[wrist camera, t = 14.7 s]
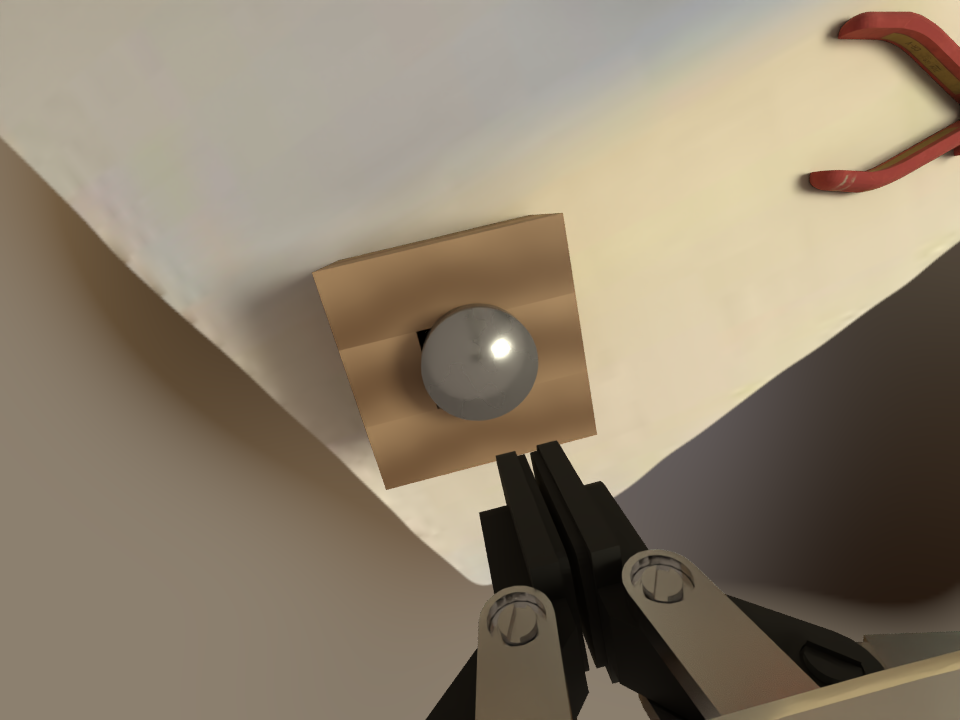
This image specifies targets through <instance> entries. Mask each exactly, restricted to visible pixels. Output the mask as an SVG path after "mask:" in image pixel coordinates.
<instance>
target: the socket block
mask: <svg viewBox="0 0 960 720" xmlns="http://www.w3.org/2000/svg"><path fill="white" fill-rule="evenodd" d="M312 274H313V277H314V280H315V283H316V286H317V289H318V292H319V295H320V298H321V301H322V304H323V306H324V309H325V312H326V315H327V318H328V321H329V324H330V327H331V330H332V333H333V336H334V339H335V342H336V344H337V347H338V350H339V353H340V356H341V359H342V362H343V365H344V368H345V371H346V374H347V377H348V380H349V382H350V385H351V388H352V391H353V394H354V397H355V400H356V403H357V406H358V409H359V412H360V415H361V418H362V420H363V423H364V426H365V429H366V432H367V435H368V438H369V441H370V444H371V447H372V450H373V453H374V456H375V458H376V461H377V464H378V467H379V470H380V473H381V476H382V479H383V482H384V485H385V488H386V490H387V489H391V488H395V487H399V486H403V485H407V484H410V483H414V482H418V481H422V480H426V479H429V478H433V477H437V476H441V475H445V474H448V473H452V472H456V471H460V470H464V469H468V468H471V467H475V466H479V465H483V464H487V463H490V462H494V461H496V455H500V454H504V453H508V452H512V451H516V454H517V455H521V454H525V453H528V452H532V451H536V450H537V447H536V446H537V445H539V444H543V443H547V442H551V441H555V440H557V441H558V443H559V444H563V443H567V442H570V441H574V440H578V439H582V438H586V437H589V436H593V435H597V431H596V425H595V418H594V412H593V405H592V399H591V392H590V386H589V380H588V373H587V367H586V360H585V354H584V347H583V341H582V334H581V328H580V321H579V315H578V308H577V302H576V295H575V289H574V282H573V276H572V269H571V263H570V256H569V250H568V243H567V237H566V230H565V224H564V217H563V213H555V214H539V215H528V216H524V217H520V218H516V219H511V220H507V221H503V222H499V223H494V224H490V225H486V226H482V227H478V228H473V229H469V230H465V231H461V232H457V233H452V234H448V235H444V236H440V237H435V238H431V239H427V240H423V241H419V242H414V243H410V244H406V245H402V246H398V247H393V248H389V249H385V250H381V251H377V252H372V253H368V254H364V255H360V256H355V257H351V258H347V259H343V260H339V261H337V262H334V263H332V264H330V265H328V266H326V267H323V268H321V269H319V270H317V271H315V272H312ZM473 303H483V304H490V305H494V306H497V307H500V308H502V309H504V310H506V311H508V312H509V313H511V314H512V315H513V316H514V317H515V318H517V319H518V320H519V321H520V322H521V324H522V325H523V326H524V327H525V328H526V329H527V330H528V332H529V333H530V335H531V337H532V338H533V340H534V343H535V345H536V349H537V353H538V371H537V376H536V380H535V382H534V385H533V387H532V389H531V391H530V392H529V394H528V395H527V397H526V398H525V399H524V400H523V401H522V402H521V403H520V404H519V405H518V406H517V407H516V408H514V409H513V410H512V411H510V412H508V413H507V414H504V415H502V416H500V417H497V418H494V419H490V420H483V421H472V420H465V419H461V418H458V417H455V416H453V415H451V414H449V413H447V412H446V411H444V410H443V409H441V408H440V407H439V406H438V405H437V404H436V403H435V402H434V401H433V400H432V398H431V397H430V395H429V394H428V392H427V390H426V388H425V385H424V383H423V379H422V374H421V355H422V348H423V343H424V341H425V338H426V334H425V331H424V330H425V329H429V328H431V327H432V326H433V324H434V323H435V322H436V321H437V320H438V319H439V318H440V317H442V316H443V315H444V314H446V313H447V312H449V311H450V310H452V309H455V308H457V307H459V306H463V305H467V304H473Z"/></svg>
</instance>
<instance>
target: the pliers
mask: <svg viewBox="0 0 960 720" xmlns="http://www.w3.org/2000/svg"><path fill="white" fill-rule="evenodd" d="M838 39H871V40H883V41H887V42H890V43H892V44H894V45H896V46H898V47H899V48H901V49H902V50H903V51H905V52H906V53H907V54H908V55H909V56H910V57H911V58H912V59H913V60H914V61H915V62H916V63H917V64H918V65H919V66H920V67H921V68H922V69H923V70H925V71H926V72H927V73H928V74H929V75H930V76H931V77H932V78H933V79H934V80H935V81H936V82H937V83H938V84H939V85H940V86H941V87H942V88H943V89H944V90H945V91H946V92H947V93H948V94H949V95H950V96H951V97H952V98H953V99H954V100H955V101H956V102H957V103H958V104H960V47H959V46H958V45H957V44H956V43H955V42H954V41H953V40H952V39H951V38H950V37H949V36H948V35H947V34H946V33H945V32H944V31H943V30H942V29H941V28H940V27H939V26H937V25H936V24H935V23H933V22H932V21H930V20H929V19H927V18H926V17H924V16H922V15H919V14H916V13H913V12H865V13H861V14H859V15H857V16H854V17H853V18H851V19H850V20H849V21H847V22H846V23H845V24H844V25H843V26H842V28H841V29H840V31H839V34H838ZM952 149H953V150H954V156H958V155H960V120H958V121H956V122H955V123H953V124H951V125H949V126H947V127H946V128H944V129H942V130H940V131H939V132H937V133H935V134H933V135H932V136H930V137H928V138H926V139H925V140H923V141H921V142H919V143H917V144H916V145H914V146H912V147H910V148H909V149H907V150H905V151H903V152H902V153H900V154H898V155H896V156H895V157H893V158H891V159H889V160H887V161H886V162H884V163H882V164H880V165H879V166H877V167H874V168H872V169H870V170H867V171H865V172H864V171H849V170H829V171H818V172H812V173H810V183H811V185H812V186H813V187H815V188H817V189H820V190H829V191H843V192H865V191H870V190H874V189H877V188H880V187H882V186H885V185H887V184H890V183H892V182H894V181H896V180H898V179H900V178H902V177H904V176H906V175H907V174H909V173H911V172H913V171H914V170H916V169H918V168H920V167H921V166H923V165H925V164H927V163H929V162H930V161H932V160H934V159H936V158H937V157H939V156H941V155H943V154H945V153H946V152H948V151H950V150H952Z"/></svg>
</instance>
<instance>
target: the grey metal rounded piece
mask: <svg viewBox="0 0 960 720" xmlns="http://www.w3.org/2000/svg"><path fill="white" fill-rule="evenodd" d="M537 371H538V353H537V349H536V345H535V343H534V340H533V338H532V337H531V335H530V333H529V332H528V330H527V329H526V328H525V327H524V326H523V325H522V324H521V322H520V321H519V320H518V319H517V318H515V317H514V316H513V315H512V314H511V313H509V312H508V311H506V310H504V309H502V308H500V307H497V306H494V305H490V304H483V303H473V304H467V305H463V306H459V307H457V308H455V309H452V310H450V311H449V312H447V313H446V314H444V315H443V316H442V317H440V318H439V319H438V320H437V321H436V322H435V323H434V324H433V326H432V327H431V329H430V330H429V332H428V334H427V336H426V338H425V341H424V343H423V348H422V355H421V374H422V379H423V383H424V385H425V388H426V390H427V392H428V394H429V395H430V397H431V398H432V400H433V401H434V402H435V403H436V404H437V405H438V406H439V407H440V408H441V409H443V410H444V411H446V412H447V413H449V414H451V415H453V416H455V417H458V418H461V419H465V420H472V421H483V420H490V419H494V418H497V417H500V416H502V415H504V414H507V413H508V412H510V411H512V410H513V409H514V408H516V407H517V406H518V405H519V404H520V403H521V402H522V401H523V400H524V399H525V398H526V397H527V395H528V394H529V392H530V391H531V389H532V387H533V385H534V382H535V380H536V376H537Z"/></svg>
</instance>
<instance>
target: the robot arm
mask: <svg viewBox="0 0 960 720" xmlns="http://www.w3.org/2000/svg"><path fill="white" fill-rule="evenodd" d="M536 447H537V451H534V452H530V455H531V461H532V466H533V471H534V475H533V473H532V471H531V468H530V466H529V464H528V461H527V459H526V456H525V454H523V455H519V456H517V454H516V451H512V452H508V453H504V454H500V455H496V461H497V466H498V470H499V474H500V478H501V483H502V487H503V491H504V496H505V500H506V504H507V505H506V506H502V507H499V508H495V509H491V510H487V511H483V512H479V514H480V520H481V525H482V531H483V536H484V542H485V547H486V552H487V558H488V563H489V568H490V574H491V579H492V584H493V589H494V595H493V596H492V597H491V598H490V599H489V600H488V601H487V602H486V603H485V605H484V607H483V609H482V610H481V612H480V617H479V622H478V648H477V649H476V651H475V652H474V653H473V655H472V656H471V657H470V659H469V660H468V662H467V663H466V664H465V666H464V667H463V669H462V670H461V671H460V673H459V674H458V675H457V677H456V678H455V680H454V681H453V682H452V684H451V685H450V687H449V688H448V689H447V691H446V692H445V693H444V695H443V696H442V698H441V699H440V700H439V702H438V703H437V705H436V706H435V707H434V709H433V710H432V712H431V713H430V714H429V716H428V717H427V719H426V720H577V716H578V714H579V712H580V710H581V708H582V706H583V704H584V701H585V699H586V697H587V695H588V693H589V691H588V686H587V681H586V676H585V671H589V665H588V659H587V654H586V648H585V643H584V638H583V635H584V637H585V640H586V642H587V645H588V648H589V650H590V653H591V656H592V658H593V660H594V663H595V665H596V667H597V668H600V667H604V666H605V667H606V669H607V671H608V674H609V676H610V679H611V681H612V683H617V682H620V684H622V685H624V686H626V687H627V688H629V689H631V690H633V691H635V692H637V693H638V696H639V699H640V701H641V704H642V706H643V708H644V710H645V712H646V713H647V715H648V717H649V718H650V720H960V631H956V632H955V631H954V632H927V633H901V634H874V635H864V636H863V642H855V641H853V640H852V639H850V638H848V637H845V636H843V635H841V634H839V633H836V632H834V631H831V630H828V629H826V628H823V627H820V626H817V625H814V624H811V623H808V622H805V621H802V620H799V619H796V618H793V617H791V616H787V615H785V614H782V613H779V612H776V611H773V610H770V609H767V608H764V607H761V606H758V605H756V604H753V603H749V602H747V601H744V600H741V599H738V598H735V597H732V596H729V595H726V594H724V593H723V592H722V591H721V590H720V589H719V588H718V587H717V586H716V585H715V584H714V583H713V582H712V581H710V579H709V578H708V577H707V576H706V575H704V573H703V572H702V571H701V570H700V569H698V568H697V567H696V566H695V565H694V564H693V563H692V562H690V561H689V560H688V559H687V558H685V557H684V556H681V555H679V554H677V553H674V552H671V551H666V550H661V549H656V550H648V548H647V547H646V545H645V544H644V543H643V541H642V540H641V538H640V537H639V535H638V534H637V532H636V531H635V529H634V528H633V526H632V525H631V523H630V522H629V520H628V519H627V517H626V516H625V514H624V513H623V511H622V510H621V508H620V507H619V505H618V504H617V502H616V501H615V499H614V498H613V496H612V495H611V493H610V492H609V491H608V489H607V488H606V486H605V485H604V484H603V482H601V481H598V482H595V483H591V484H587V485H583V483H582V481H581V480H580V478H579V476H578V475H577V473H576V471H575V470H574V468H573V466H572V465H571V463H570V461H569V460H568V458H567V456H566V454H565V453H564V451H563V449H562V448H561V446H560V444H559V443H558V441H557V440H555V441H551V442H547V443H543V444H539V445H537V446H536ZM534 476H535V478H534Z"/></svg>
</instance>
